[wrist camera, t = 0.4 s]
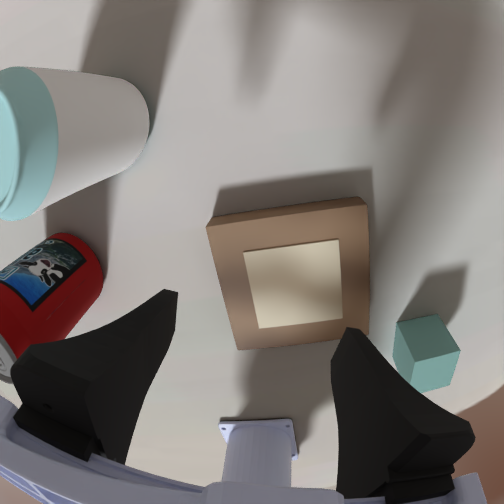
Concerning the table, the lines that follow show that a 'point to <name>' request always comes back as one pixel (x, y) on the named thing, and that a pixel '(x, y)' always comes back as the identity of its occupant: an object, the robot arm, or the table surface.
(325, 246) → the walnut base
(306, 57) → the table surface
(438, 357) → the teal block
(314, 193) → the table surface
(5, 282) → the beverage can
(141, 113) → the can
